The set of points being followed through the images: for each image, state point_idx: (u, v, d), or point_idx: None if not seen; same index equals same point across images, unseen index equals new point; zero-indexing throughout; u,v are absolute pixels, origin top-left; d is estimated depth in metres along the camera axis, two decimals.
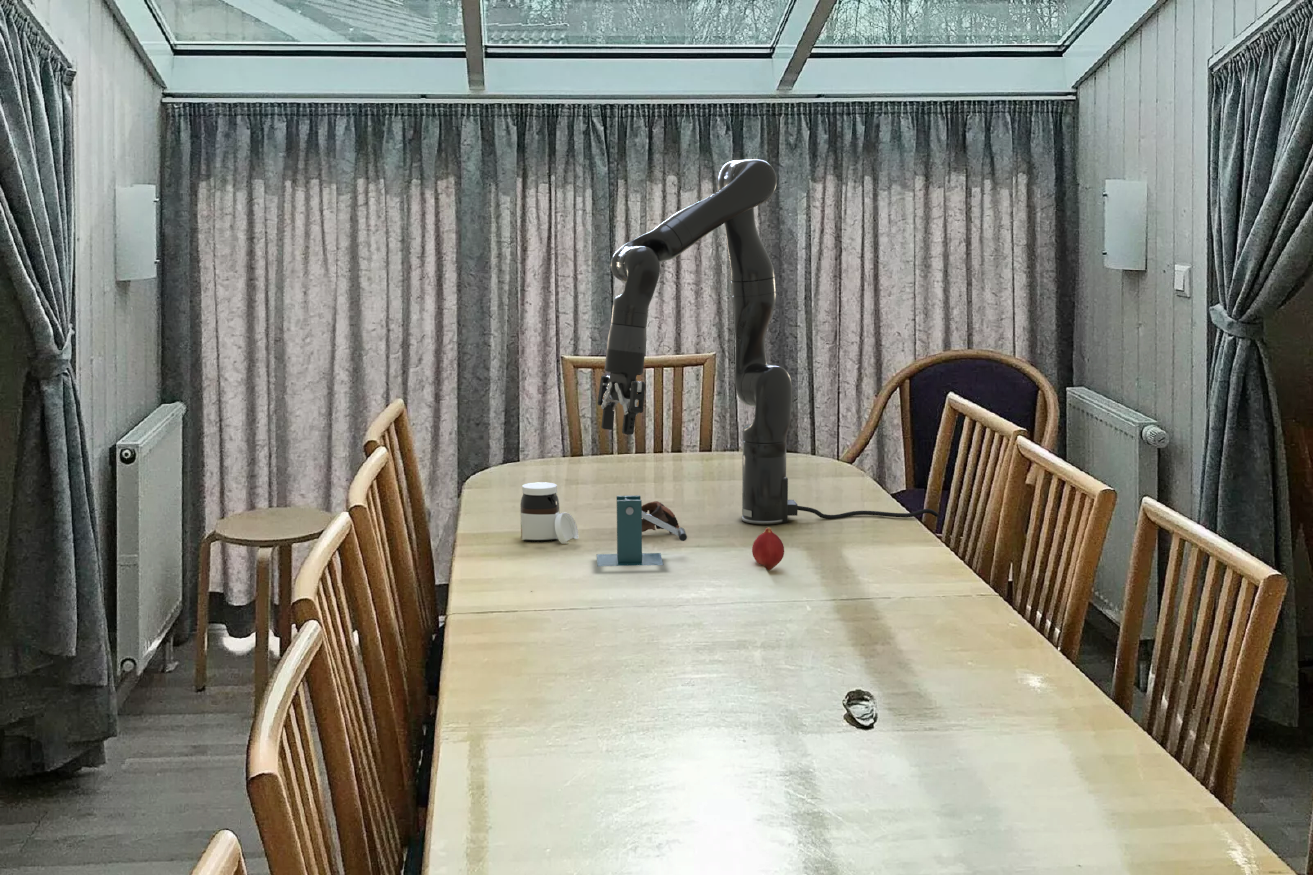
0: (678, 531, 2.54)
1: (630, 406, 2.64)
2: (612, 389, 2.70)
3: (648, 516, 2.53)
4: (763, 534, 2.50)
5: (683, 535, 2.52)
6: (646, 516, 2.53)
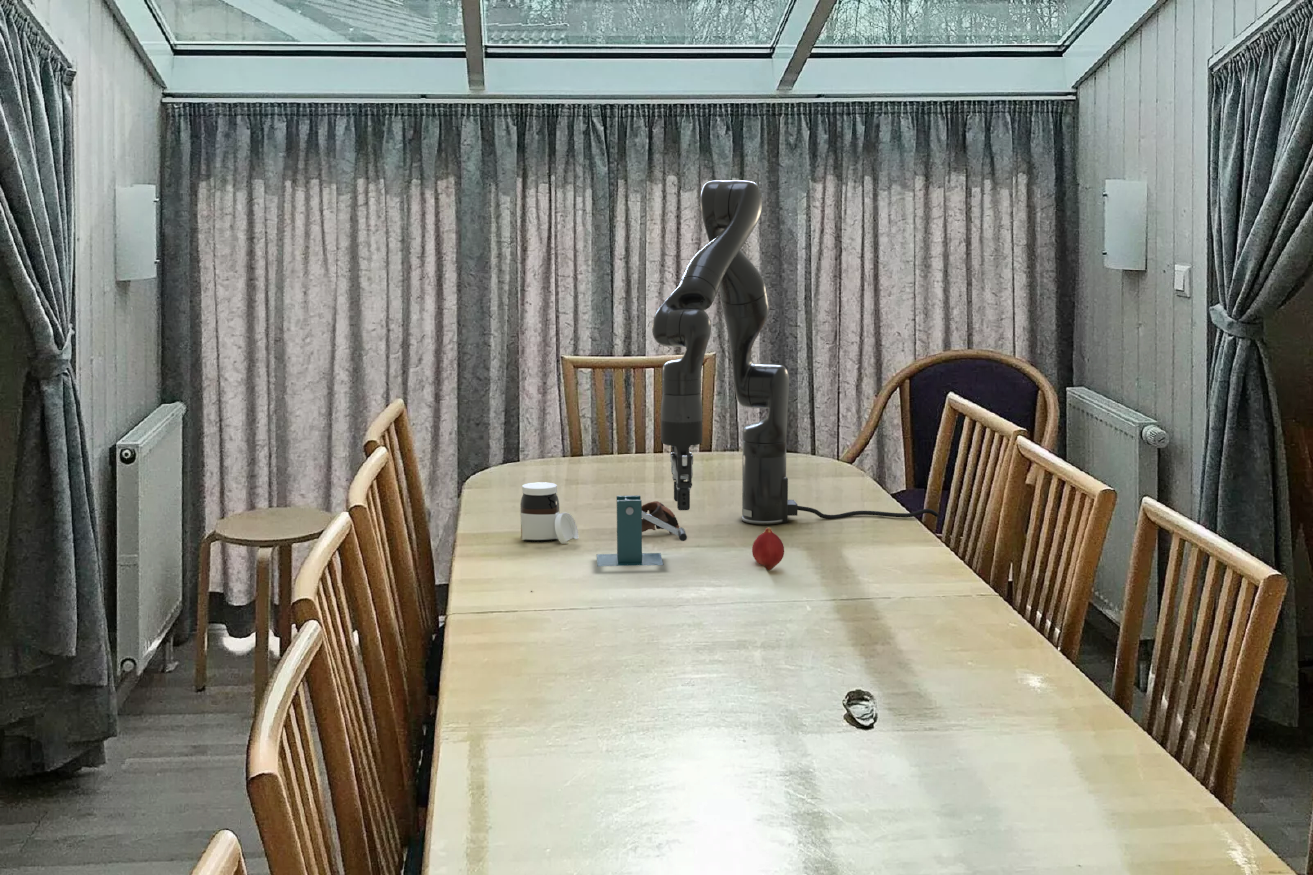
0: (678, 531, 2.54)
1: (677, 482, 2.47)
2: None
3: (648, 516, 2.53)
4: (763, 534, 2.50)
5: (683, 535, 2.52)
6: (646, 516, 2.53)
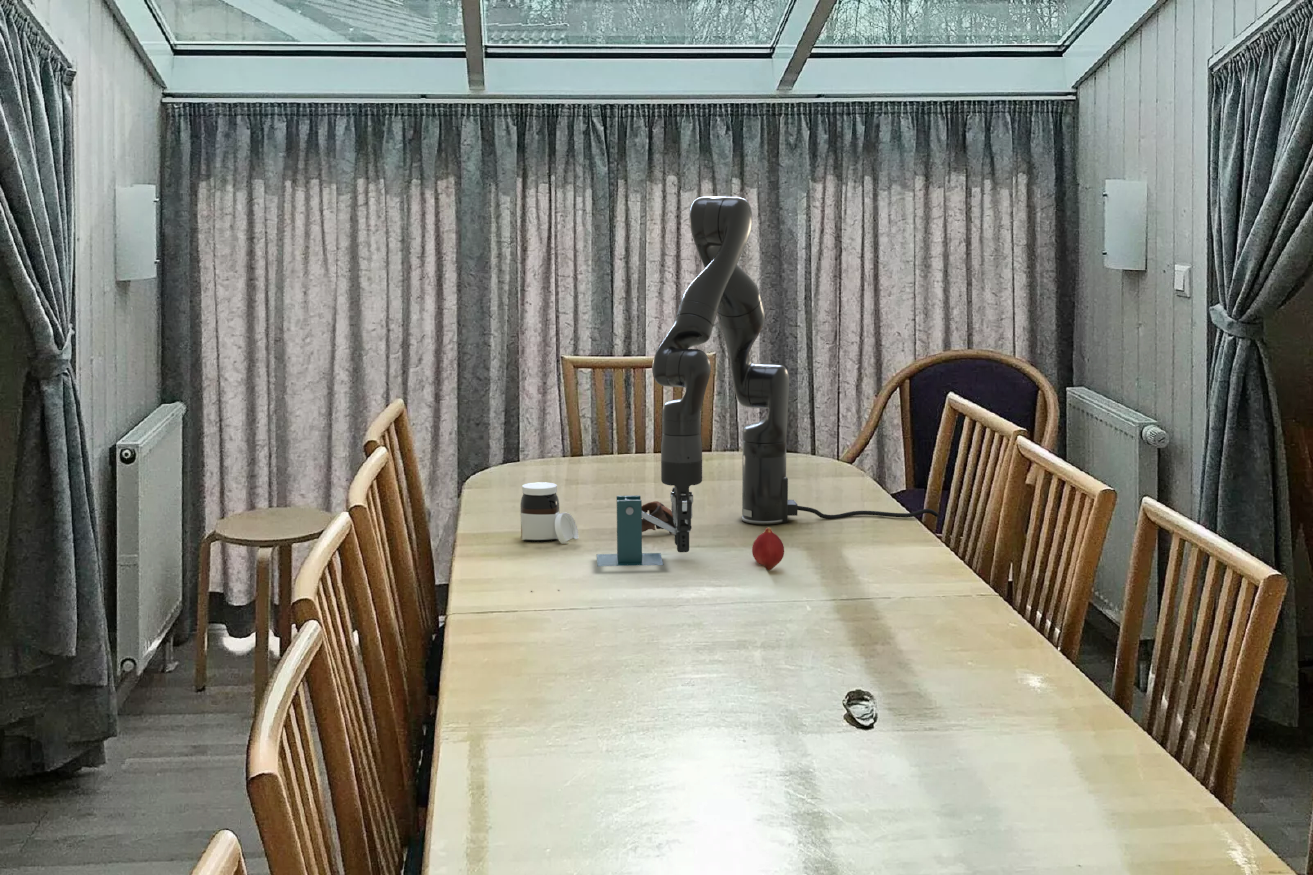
0: None
1: (677, 524, 2.49)
2: None
3: (648, 516, 2.53)
4: (763, 534, 2.50)
5: None
6: (646, 516, 2.53)
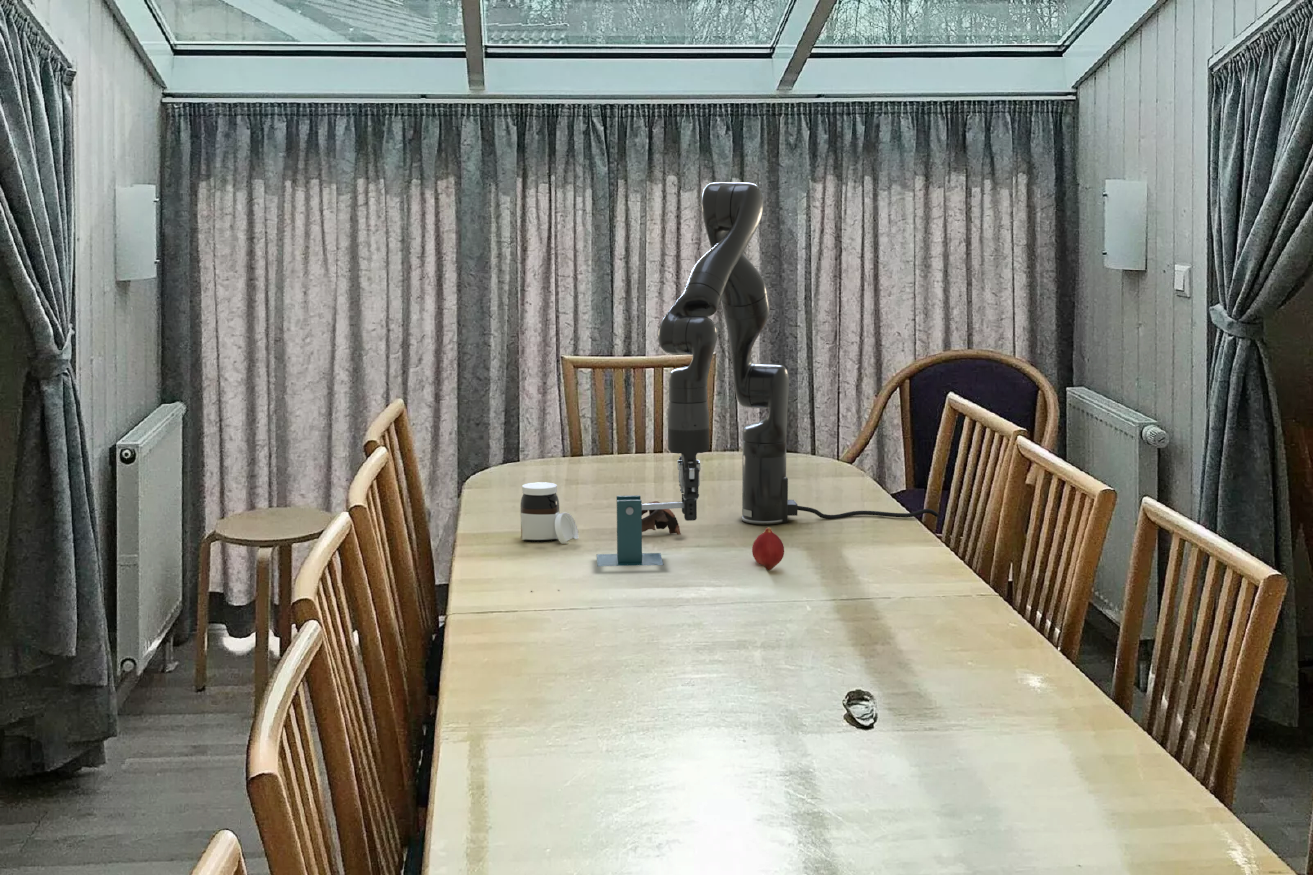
0: None
1: (684, 492, 2.48)
2: None
3: (650, 505, 2.53)
4: (763, 534, 2.50)
5: None
6: (648, 506, 2.53)
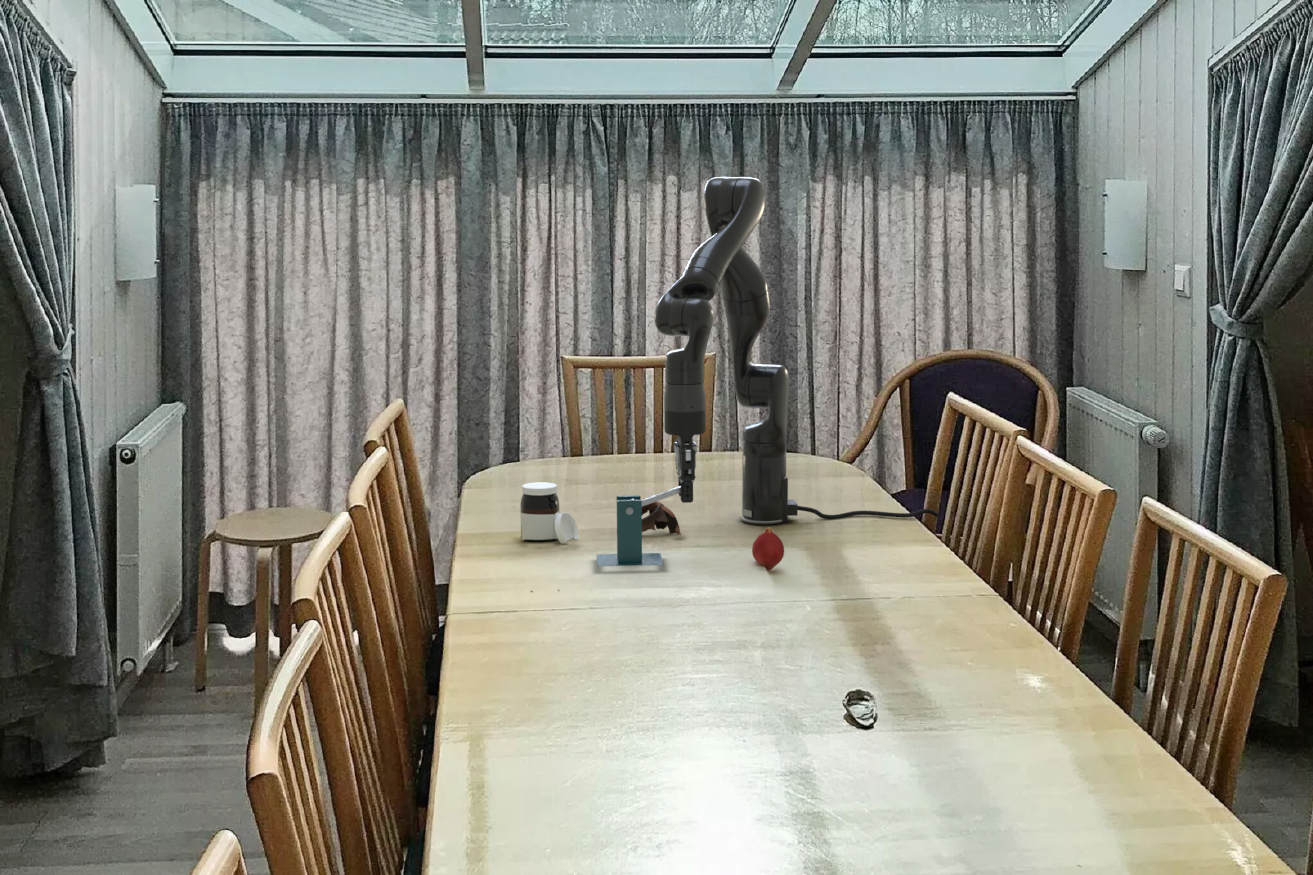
0: (680, 488, 2.53)
1: None
2: None
3: (648, 499, 2.53)
4: (763, 534, 2.50)
5: None
6: (647, 500, 2.53)
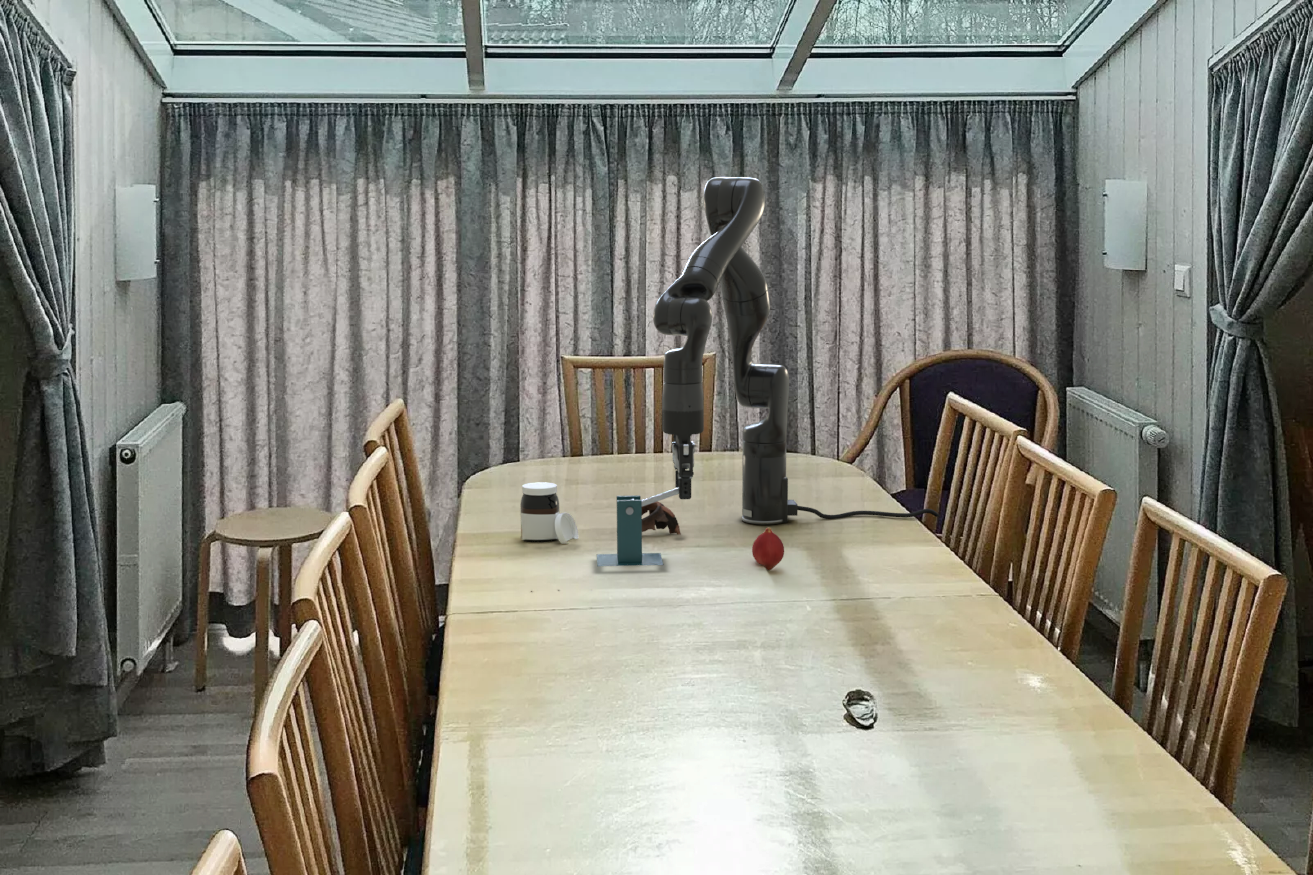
0: None
1: (679, 471, 2.46)
2: None
3: (648, 500, 2.53)
4: (763, 534, 2.50)
5: None
6: (647, 501, 2.53)
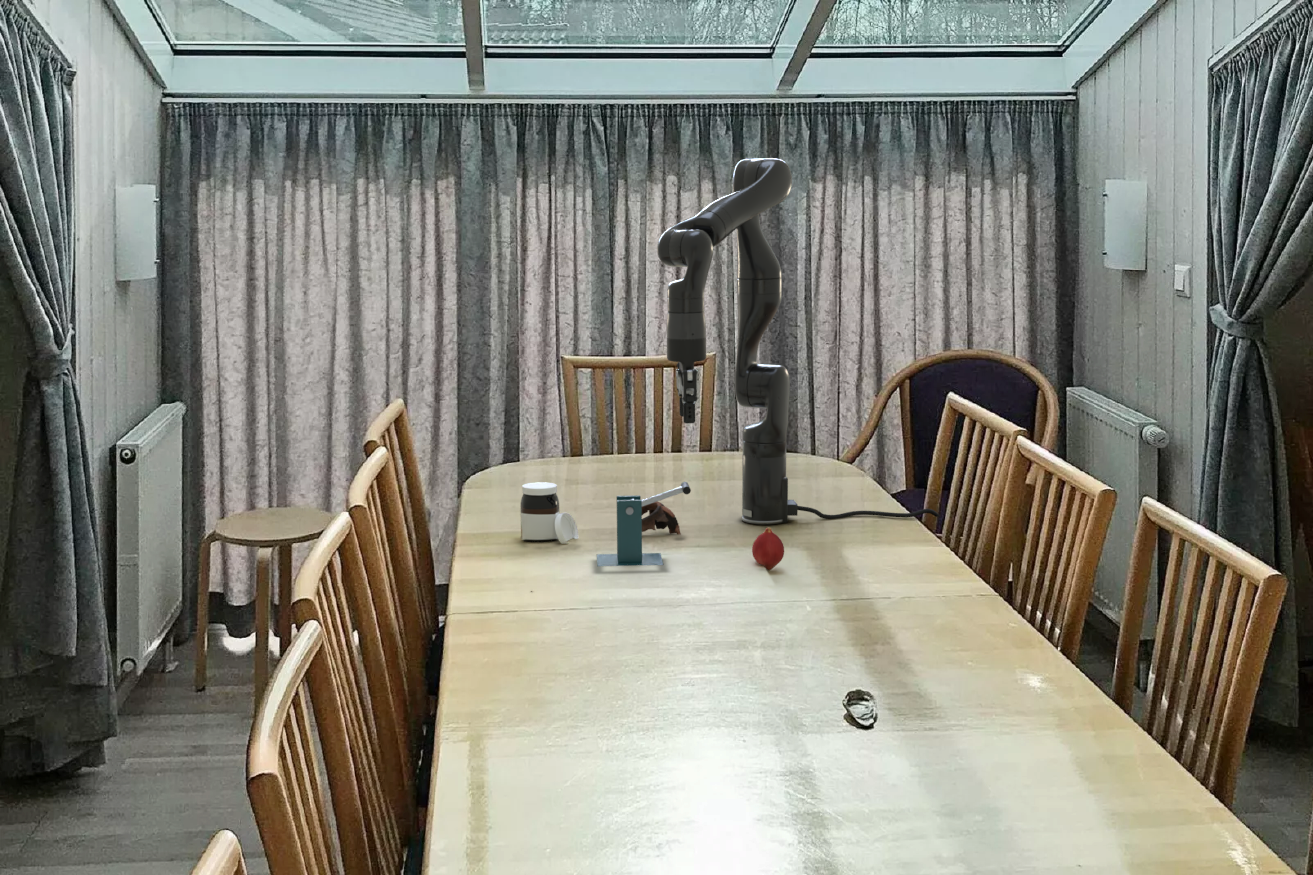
0: (680, 488, 2.53)
1: (683, 395, 2.59)
2: None
3: (648, 500, 2.53)
4: (763, 534, 2.50)
5: (685, 489, 2.51)
6: (647, 501, 2.53)
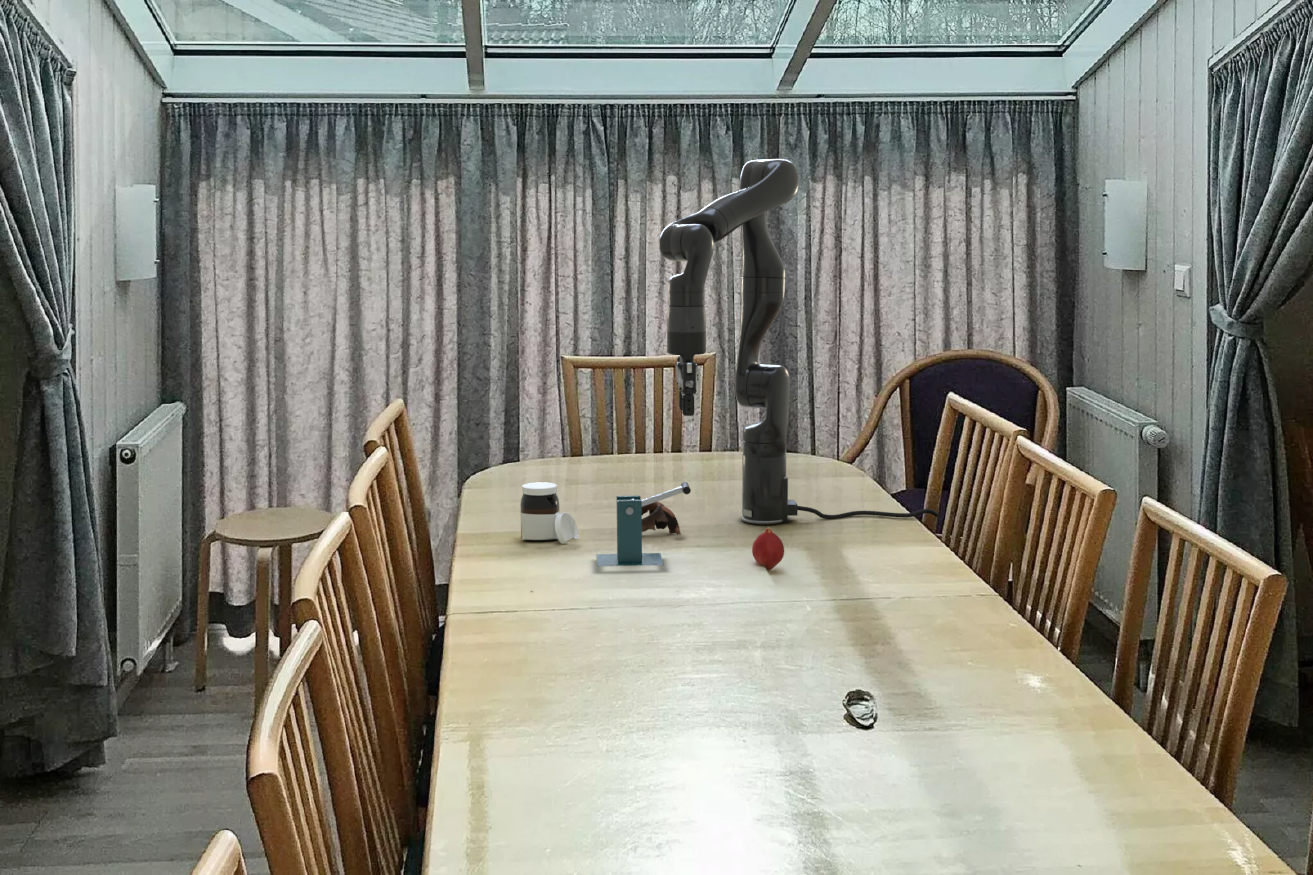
0: (680, 488, 2.53)
1: None
2: None
3: (648, 500, 2.53)
4: (763, 534, 2.50)
5: (685, 489, 2.51)
6: (647, 501, 2.53)
